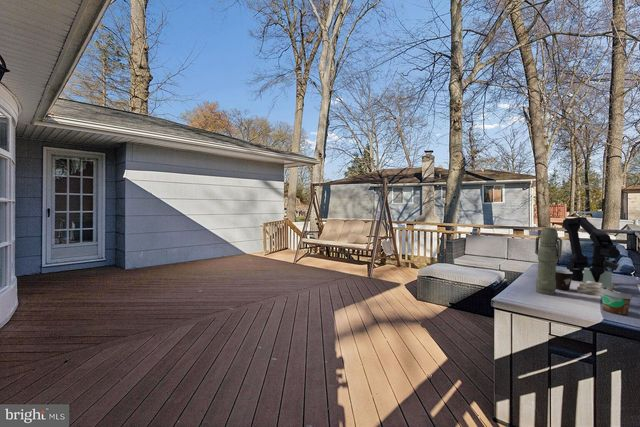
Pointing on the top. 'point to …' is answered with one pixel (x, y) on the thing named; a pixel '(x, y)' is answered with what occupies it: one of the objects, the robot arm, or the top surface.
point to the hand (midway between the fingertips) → (597, 281)
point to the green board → (604, 278)
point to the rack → (591, 291)
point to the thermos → (547, 260)
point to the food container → (615, 301)
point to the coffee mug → (563, 279)
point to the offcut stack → (594, 285)
